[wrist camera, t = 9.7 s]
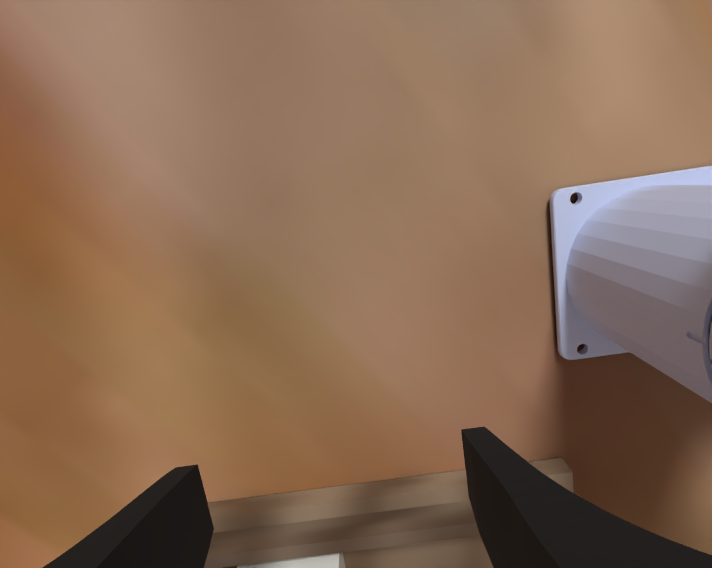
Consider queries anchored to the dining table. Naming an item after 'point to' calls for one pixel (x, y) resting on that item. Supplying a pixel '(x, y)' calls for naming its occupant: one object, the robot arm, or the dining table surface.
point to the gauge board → (361, 523)
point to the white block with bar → (303, 562)
